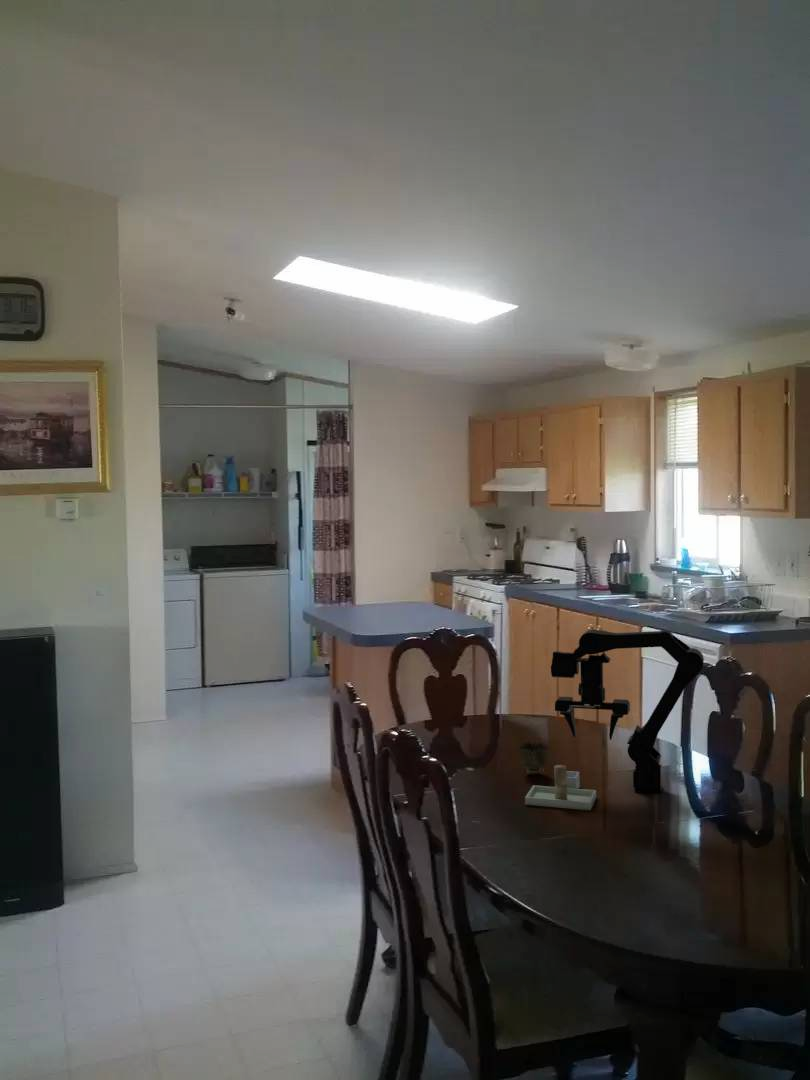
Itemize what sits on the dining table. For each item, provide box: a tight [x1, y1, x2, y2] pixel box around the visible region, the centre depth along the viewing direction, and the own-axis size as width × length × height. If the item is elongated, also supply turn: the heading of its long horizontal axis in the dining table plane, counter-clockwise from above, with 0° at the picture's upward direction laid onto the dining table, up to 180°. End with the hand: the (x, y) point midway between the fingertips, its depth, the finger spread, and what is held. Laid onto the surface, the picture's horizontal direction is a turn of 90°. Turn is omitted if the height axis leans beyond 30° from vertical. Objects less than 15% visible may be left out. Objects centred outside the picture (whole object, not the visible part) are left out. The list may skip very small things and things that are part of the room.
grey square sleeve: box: [566, 770, 581, 789], centre depth 241 cm, size 6×6×4 cm
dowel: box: [553, 764, 567, 800], centre depth 232 cm, size 3×3×8 cm
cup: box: [519, 741, 548, 776], centre depth 255 cm, size 8×7×8 cm
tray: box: [524, 785, 597, 811], centre depth 232 cm, size 16×10×2 cm, turn 71°
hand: (592, 738), depth 243 cm, fingers open, 9 cm apart
